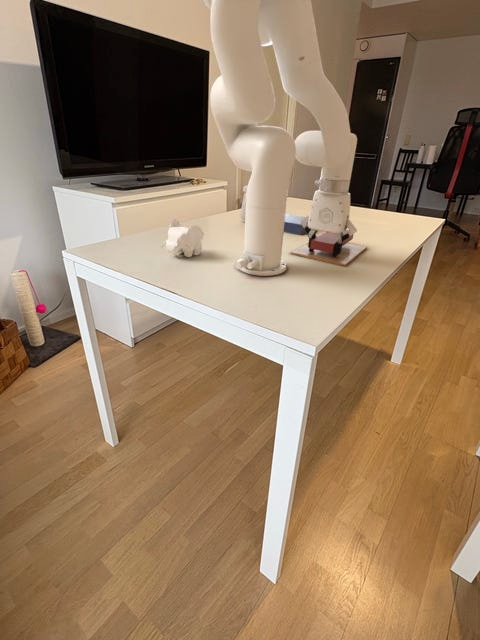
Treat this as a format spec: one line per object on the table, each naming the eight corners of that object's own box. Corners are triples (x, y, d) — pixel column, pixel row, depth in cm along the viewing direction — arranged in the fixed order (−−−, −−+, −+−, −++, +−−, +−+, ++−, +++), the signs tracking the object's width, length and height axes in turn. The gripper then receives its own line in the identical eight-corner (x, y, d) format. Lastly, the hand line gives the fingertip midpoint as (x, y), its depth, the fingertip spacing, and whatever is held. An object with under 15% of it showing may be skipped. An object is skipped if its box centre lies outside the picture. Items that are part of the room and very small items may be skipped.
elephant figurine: (155, 255, 94) (152, 222, 89) (189, 246, 101) (188, 216, 97) (177, 264, 88) (175, 229, 84) (211, 254, 96) (211, 222, 91)
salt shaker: (253, 224, 129) (255, 187, 122) (238, 222, 129) (239, 186, 123) (255, 220, 134) (257, 185, 127) (241, 219, 134) (242, 184, 128)
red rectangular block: (332, 253, 94) (333, 244, 92) (310, 248, 97) (311, 239, 96) (352, 239, 107) (354, 231, 106) (332, 235, 110) (334, 227, 109)
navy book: (301, 235, 117) (302, 224, 115) (258, 226, 125) (259, 217, 123) (315, 228, 126) (316, 218, 124) (274, 221, 134) (275, 212, 132)
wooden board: (345, 266, 91) (345, 264, 91) (290, 254, 98) (291, 252, 98) (366, 248, 106) (366, 246, 105) (317, 239, 113) (318, 237, 113)
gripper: (297, 184, 90) (290, 250, 99) (363, 192, 82) (349, 263, 91) (309, 181, 96) (301, 244, 104) (371, 188, 88) (357, 256, 96)
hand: (323, 252), depth 98 cm, fingers closed on red rectangular block, 6 cm apart
